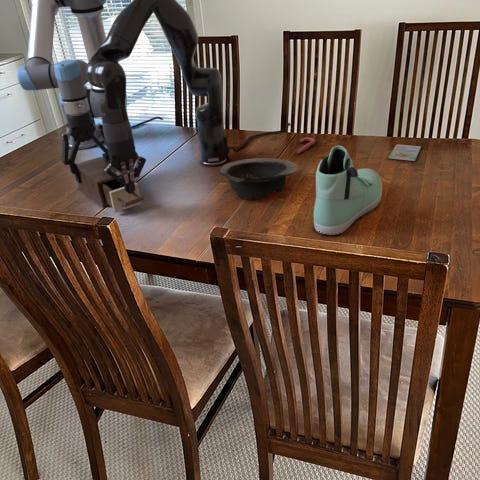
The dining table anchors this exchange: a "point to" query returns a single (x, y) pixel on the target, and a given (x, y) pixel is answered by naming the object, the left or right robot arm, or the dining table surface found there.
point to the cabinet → (94, 178)
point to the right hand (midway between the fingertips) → (130, 192)
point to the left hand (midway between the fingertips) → (94, 176)
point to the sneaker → (343, 192)
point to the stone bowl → (257, 176)
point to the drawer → (119, 195)
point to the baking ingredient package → (405, 152)
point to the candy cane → (306, 144)
